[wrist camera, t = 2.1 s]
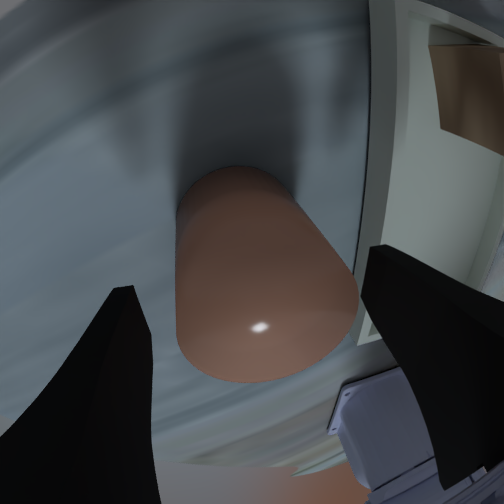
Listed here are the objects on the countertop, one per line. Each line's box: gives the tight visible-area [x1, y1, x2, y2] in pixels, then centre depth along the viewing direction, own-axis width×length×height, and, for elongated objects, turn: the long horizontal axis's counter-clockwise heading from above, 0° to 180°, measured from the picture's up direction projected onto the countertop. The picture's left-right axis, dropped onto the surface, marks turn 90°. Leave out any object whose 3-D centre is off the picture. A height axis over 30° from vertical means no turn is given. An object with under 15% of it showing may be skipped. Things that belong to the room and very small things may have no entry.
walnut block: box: [428, 44, 504, 156], centre depth 9 cm, size 4×4×4 cm
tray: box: [348, 0, 504, 346], centre depth 13 cm, size 17×10×2 cm, turn 3°
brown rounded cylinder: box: [175, 166, 359, 383], centre depth 11 cm, size 5×5×6 cm
